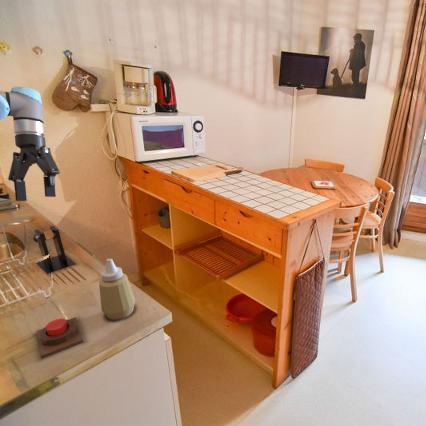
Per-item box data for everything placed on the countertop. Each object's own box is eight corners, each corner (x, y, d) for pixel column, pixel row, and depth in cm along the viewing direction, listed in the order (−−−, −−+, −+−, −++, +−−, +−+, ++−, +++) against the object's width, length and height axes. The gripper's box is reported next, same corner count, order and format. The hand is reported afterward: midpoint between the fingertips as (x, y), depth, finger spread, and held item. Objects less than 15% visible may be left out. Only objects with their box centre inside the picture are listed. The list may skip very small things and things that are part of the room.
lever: (34, 244, 109) (30, 235, 109) (47, 241, 112) (43, 231, 112) (44, 241, 101) (39, 231, 100) (57, 237, 103) (53, 227, 103)
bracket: (36, 265, 107) (25, 229, 101) (64, 256, 113) (55, 221, 108) (48, 277, 102) (36, 239, 96) (76, 266, 108) (67, 230, 103)
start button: (46, 329, 78) (44, 323, 77) (66, 322, 81) (65, 316, 80) (48, 339, 76) (46, 332, 75) (69, 331, 78) (67, 325, 77)
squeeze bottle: (118, 328, 84) (106, 271, 77) (96, 319, 87) (82, 263, 80) (143, 309, 92) (134, 256, 84) (122, 301, 94) (111, 249, 87)
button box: (38, 335, 80) (34, 325, 79) (77, 322, 85) (74, 311, 84) (42, 361, 74) (38, 349, 72) (84, 344, 79) (81, 333, 77)
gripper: (69, 132, 106) (75, 195, 106) (17, 143, 113) (22, 202, 113) (44, 126, 99) (50, 194, 99) (-10, 139, 106) (-4, 202, 105)
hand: (35, 198), depth 106 cm, fingers open, 13 cm apart
